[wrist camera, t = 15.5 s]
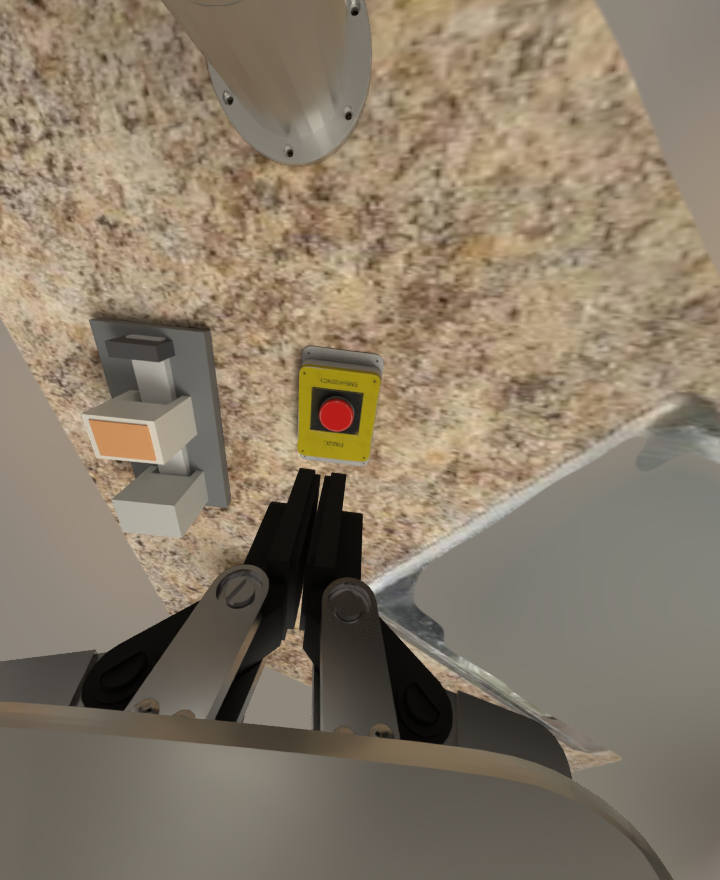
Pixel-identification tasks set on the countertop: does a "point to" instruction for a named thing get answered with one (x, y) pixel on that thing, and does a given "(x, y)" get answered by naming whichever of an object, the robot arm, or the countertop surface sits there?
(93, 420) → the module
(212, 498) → the rail board
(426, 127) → the countertop surface
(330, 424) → the emergency button
